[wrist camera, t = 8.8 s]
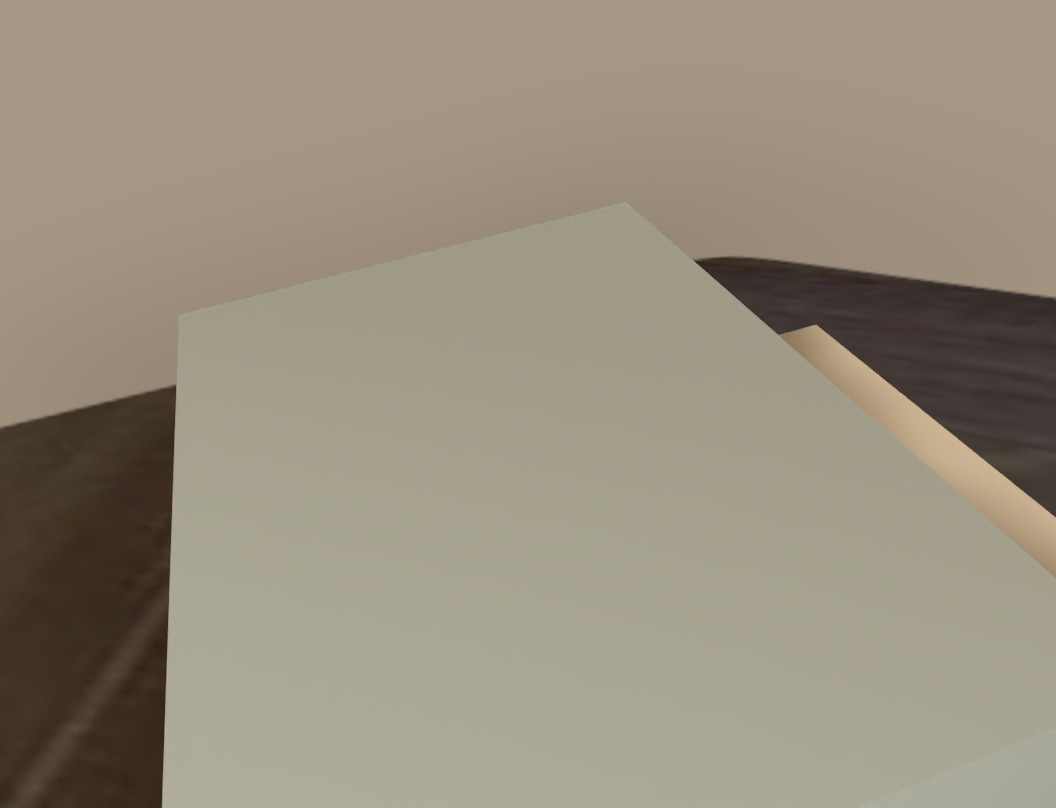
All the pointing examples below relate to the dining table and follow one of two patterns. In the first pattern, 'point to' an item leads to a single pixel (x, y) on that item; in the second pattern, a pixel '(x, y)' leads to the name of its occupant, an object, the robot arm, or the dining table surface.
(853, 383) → the cutting board
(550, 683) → the sage block
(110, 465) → the dining table surface
